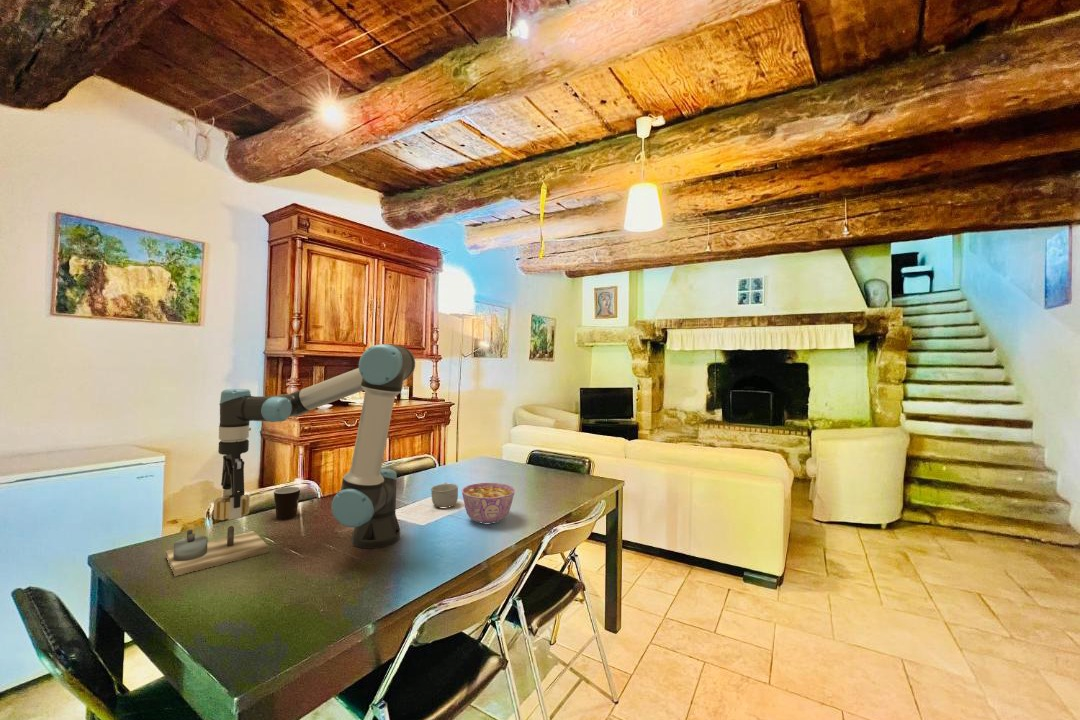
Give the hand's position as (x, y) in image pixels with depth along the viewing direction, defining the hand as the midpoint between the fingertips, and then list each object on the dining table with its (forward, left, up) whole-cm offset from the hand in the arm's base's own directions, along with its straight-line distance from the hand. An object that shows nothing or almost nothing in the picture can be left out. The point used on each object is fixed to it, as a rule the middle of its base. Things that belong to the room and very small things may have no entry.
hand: (231, 514), depth 132 cm
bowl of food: (-33, -74, -12) cm, 82 cm away
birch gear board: (0, +3, -11) cm, 12 cm away
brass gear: (0, 0, 0) cm, 0 cm away
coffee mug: (+22, -23, -12) cm, 34 cm away
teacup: (-7, -73, -12) cm, 74 cm away
